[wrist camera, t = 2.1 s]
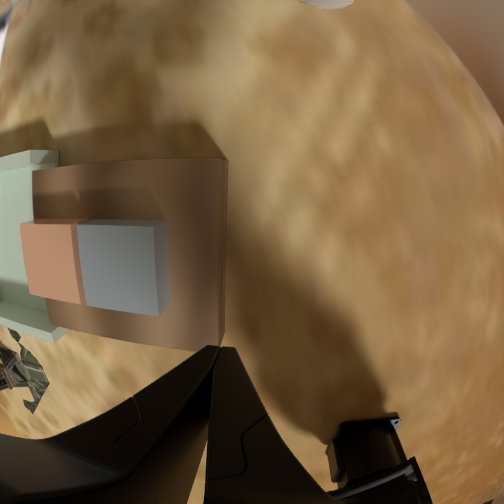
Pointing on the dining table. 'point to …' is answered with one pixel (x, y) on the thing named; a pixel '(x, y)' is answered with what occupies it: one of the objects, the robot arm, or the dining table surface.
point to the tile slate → (125, 264)
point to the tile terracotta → (53, 259)
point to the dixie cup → (328, 3)
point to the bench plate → (178, 242)
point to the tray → (10, 247)
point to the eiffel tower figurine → (22, 372)
